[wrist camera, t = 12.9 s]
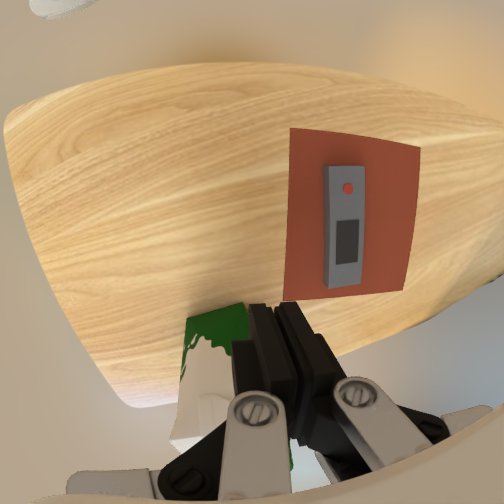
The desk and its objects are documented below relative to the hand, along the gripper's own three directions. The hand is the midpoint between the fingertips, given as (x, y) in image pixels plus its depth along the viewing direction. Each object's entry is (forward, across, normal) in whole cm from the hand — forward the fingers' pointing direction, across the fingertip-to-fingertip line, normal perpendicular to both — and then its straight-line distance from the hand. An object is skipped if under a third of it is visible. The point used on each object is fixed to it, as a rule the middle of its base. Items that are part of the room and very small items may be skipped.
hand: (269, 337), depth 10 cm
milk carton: (+21, +1, +14) cm, 26 cm away
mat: (+21, -15, 0) cm, 26 cm away
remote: (+21, -12, +1) cm, 25 cm away
